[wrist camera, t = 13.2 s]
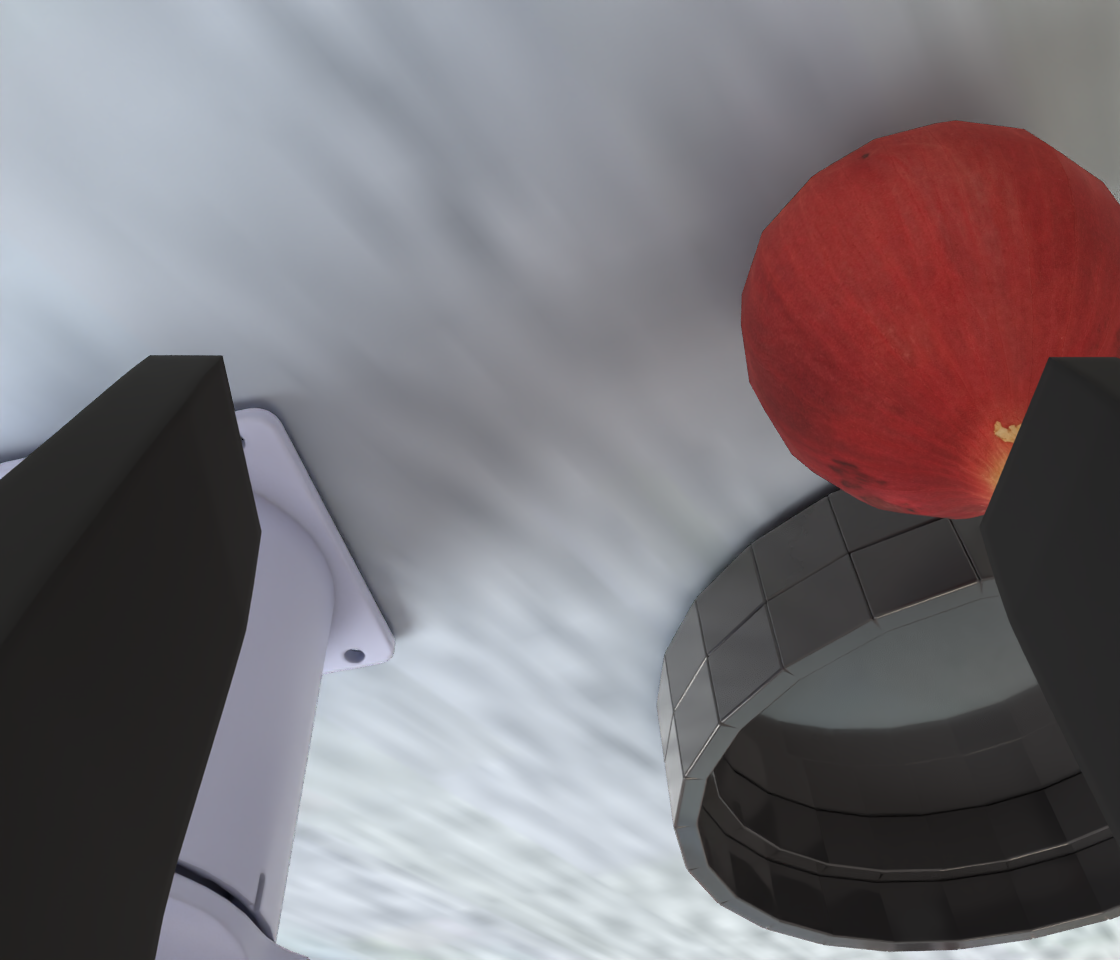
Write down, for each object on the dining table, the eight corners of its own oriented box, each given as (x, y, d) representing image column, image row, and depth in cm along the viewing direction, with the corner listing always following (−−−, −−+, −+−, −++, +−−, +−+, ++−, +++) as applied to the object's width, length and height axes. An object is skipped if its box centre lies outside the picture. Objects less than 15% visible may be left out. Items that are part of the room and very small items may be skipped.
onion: (1018, 312, 20) (1240, 614, 14) (731, 375, 21) (824, 690, 15) (1038, 11, 16) (1353, 246, 10) (686, 101, 17) (787, 370, 11)
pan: (700, 860, 33) (720, 984, 30) (603, 510, 23) (618, 646, 20) (1213, 779, 32) (1289, 903, 29) (1358, 359, 21) (1501, 484, 18)
